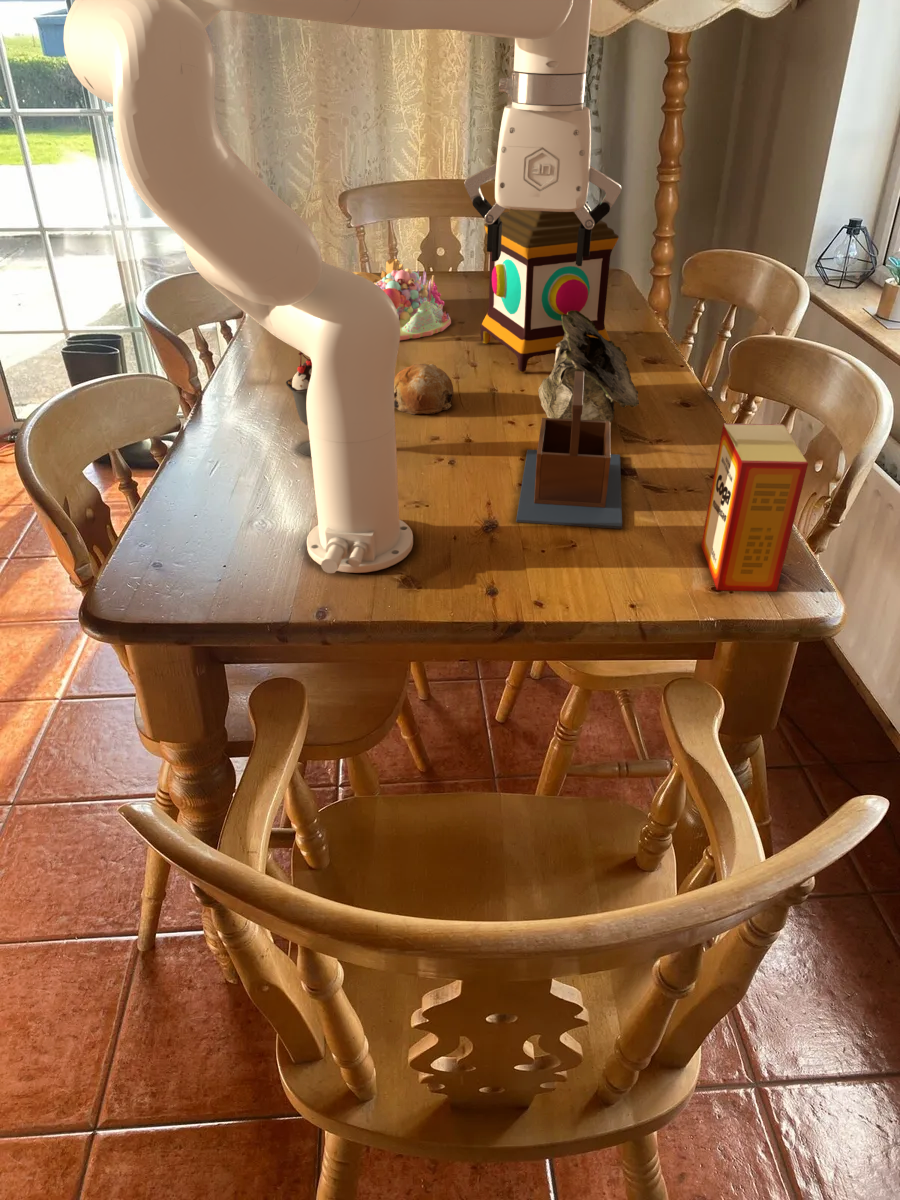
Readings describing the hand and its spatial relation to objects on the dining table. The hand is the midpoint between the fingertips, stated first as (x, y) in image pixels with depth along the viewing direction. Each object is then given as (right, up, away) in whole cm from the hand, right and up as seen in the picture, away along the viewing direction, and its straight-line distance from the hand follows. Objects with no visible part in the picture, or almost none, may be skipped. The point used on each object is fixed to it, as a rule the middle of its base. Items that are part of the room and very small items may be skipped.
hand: (537, 260), depth 105 cm
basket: (+6, -24, +15) cm, 29 cm away
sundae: (-29, -18, +25) cm, 43 cm away
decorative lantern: (+7, +5, +58) cm, 58 cm away
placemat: (+6, -24, +15) cm, 29 cm away
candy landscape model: (-21, +16, +73) cm, 78 cm away
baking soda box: (+23, -36, -1) cm, 42 cm away
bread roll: (-15, -8, +39) cm, 42 cm away
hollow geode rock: (+11, -10, +36) cm, 39 cm away
